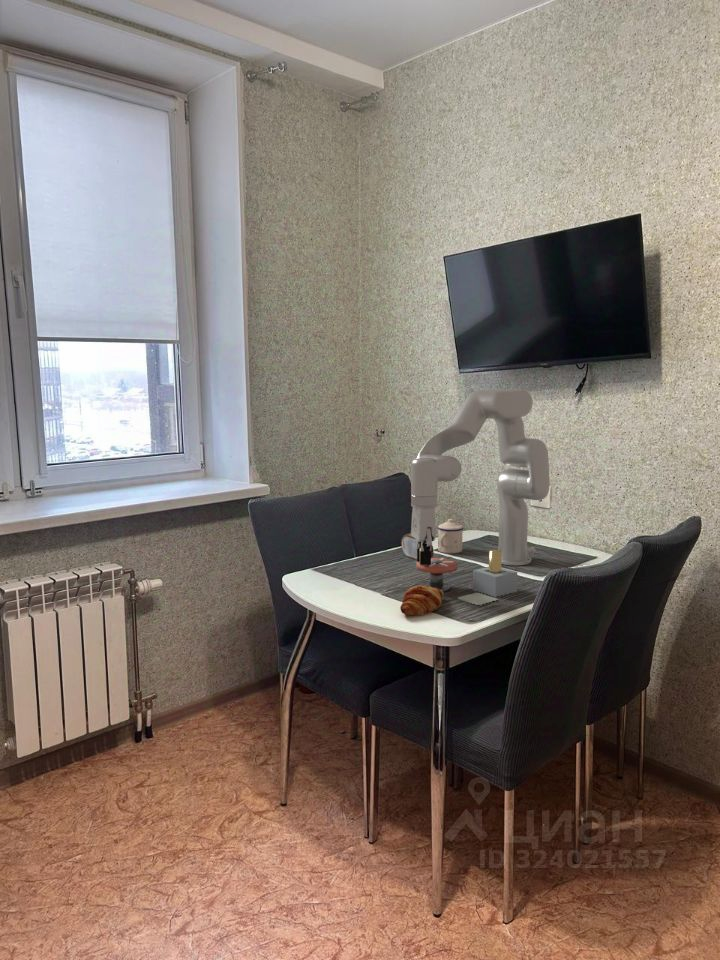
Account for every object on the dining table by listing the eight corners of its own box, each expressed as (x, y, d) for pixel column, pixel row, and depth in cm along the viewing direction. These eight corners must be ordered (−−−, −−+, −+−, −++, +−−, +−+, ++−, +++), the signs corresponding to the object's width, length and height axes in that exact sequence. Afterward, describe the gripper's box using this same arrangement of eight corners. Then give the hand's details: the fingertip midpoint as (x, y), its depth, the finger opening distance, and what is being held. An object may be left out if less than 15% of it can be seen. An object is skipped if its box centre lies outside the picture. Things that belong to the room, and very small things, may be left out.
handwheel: (418, 573, 203) (418, 551, 202) (414, 562, 215) (414, 541, 214) (460, 573, 204) (460, 551, 203) (453, 562, 215) (454, 541, 214)
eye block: (493, 584, 214) (494, 565, 213) (516, 591, 207) (517, 571, 206) (472, 590, 209) (473, 570, 208) (495, 597, 201) (495, 577, 201)
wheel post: (437, 583, 216) (437, 563, 215) (455, 589, 209) (456, 569, 209) (417, 587, 211) (417, 568, 210) (435, 594, 205) (435, 574, 204)
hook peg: (494, 588, 210) (495, 549, 208) (503, 591, 207) (504, 551, 206) (485, 590, 208) (486, 550, 206) (494, 593, 205) (495, 553, 203)
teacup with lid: (444, 546, 262) (444, 515, 261) (466, 549, 257) (467, 518, 256) (429, 553, 252) (429, 521, 251) (452, 556, 247) (453, 524, 246)
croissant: (431, 608, 203) (420, 582, 204) (460, 597, 198) (448, 571, 199) (394, 628, 185) (382, 600, 187) (425, 617, 180) (412, 588, 181)
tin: (434, 563, 240) (434, 538, 238) (427, 564, 238) (427, 539, 237) (406, 554, 252) (406, 530, 251) (399, 555, 250) (399, 532, 249)
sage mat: (477, 593, 205) (477, 592, 205) (498, 600, 199) (498, 599, 198) (457, 598, 200) (457, 597, 200) (478, 606, 194) (478, 604, 194)
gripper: (404, 496, 211) (404, 556, 214) (419, 506, 195) (418, 571, 198) (428, 495, 212) (428, 555, 215) (445, 505, 197) (444, 569, 199)
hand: (423, 562), depth 207 cm, fingers closed on handwheel, 2 cm apart
